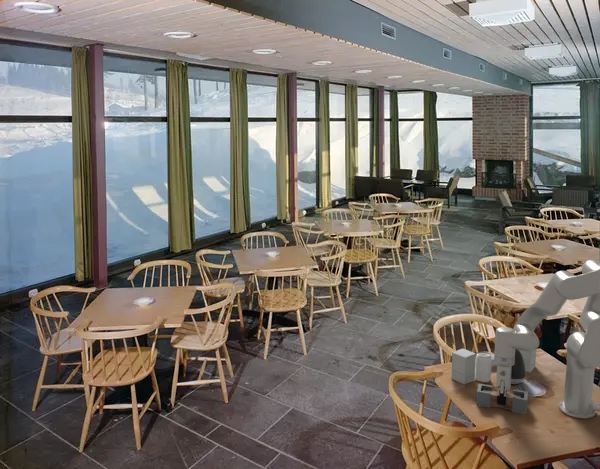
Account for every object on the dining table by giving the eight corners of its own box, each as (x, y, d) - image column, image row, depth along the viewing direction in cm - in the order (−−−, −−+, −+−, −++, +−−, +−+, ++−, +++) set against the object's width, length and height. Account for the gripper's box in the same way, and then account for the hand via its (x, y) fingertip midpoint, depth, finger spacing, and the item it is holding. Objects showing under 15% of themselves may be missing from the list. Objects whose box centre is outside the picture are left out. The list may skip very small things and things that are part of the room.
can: (491, 383, 227) (493, 357, 225) (475, 382, 229) (477, 356, 226) (489, 376, 234) (490, 351, 231) (474, 375, 235) (475, 350, 232)
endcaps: (526, 405, 209) (527, 391, 208) (526, 414, 203) (527, 400, 202) (478, 397, 216) (478, 383, 215) (476, 405, 210) (477, 391, 209)
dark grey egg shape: (495, 381, 229) (497, 348, 226) (507, 373, 236) (509, 342, 233) (517, 389, 222) (520, 356, 219) (529, 381, 228) (531, 348, 225)
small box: (521, 363, 246) (522, 337, 244) (535, 366, 242) (537, 340, 240) (515, 369, 240) (517, 342, 237) (530, 373, 236) (532, 346, 233)
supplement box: (475, 380, 231) (476, 353, 228) (464, 385, 227) (465, 357, 224) (461, 374, 237) (462, 347, 234) (450, 378, 233) (451, 352, 230)
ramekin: (500, 366, 243) (500, 357, 242) (483, 369, 241) (484, 360, 240) (488, 358, 252) (488, 350, 251) (472, 361, 249) (472, 352, 248)
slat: (519, 407, 209) (520, 395, 208) (519, 411, 205) (520, 399, 204) (482, 400, 214) (483, 389, 213) (481, 404, 211) (482, 393, 210)
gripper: (513, 369, 196) (510, 413, 200) (515, 351, 212) (512, 393, 215) (492, 366, 200) (489, 409, 203) (495, 348, 215) (493, 390, 218)
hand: (501, 400), depth 209 cm, fingers open, 4 cm apart
